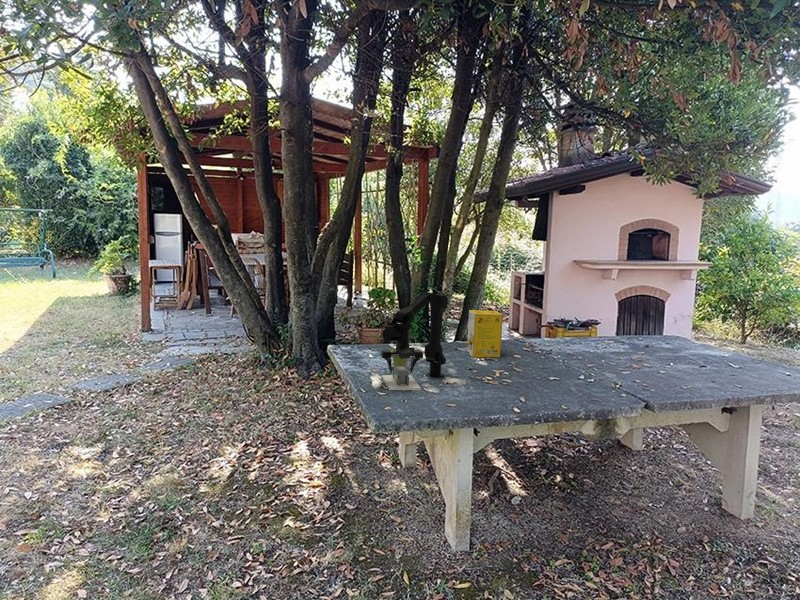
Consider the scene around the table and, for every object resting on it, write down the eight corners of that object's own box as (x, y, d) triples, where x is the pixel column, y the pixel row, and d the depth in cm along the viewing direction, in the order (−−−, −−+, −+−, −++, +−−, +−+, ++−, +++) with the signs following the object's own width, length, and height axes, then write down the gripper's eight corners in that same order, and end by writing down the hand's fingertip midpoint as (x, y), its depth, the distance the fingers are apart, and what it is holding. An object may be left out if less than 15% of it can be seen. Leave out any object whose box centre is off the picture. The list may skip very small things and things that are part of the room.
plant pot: (386, 367, 271) (387, 350, 270) (401, 365, 277) (402, 348, 275) (397, 371, 263) (398, 354, 262) (412, 369, 269) (413, 352, 268)
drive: (393, 378, 245) (394, 365, 245) (404, 378, 246) (404, 365, 246) (397, 384, 237) (397, 370, 236) (408, 384, 238) (408, 370, 237)
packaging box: (466, 351, 319) (469, 309, 316) (493, 351, 320) (496, 310, 317) (471, 357, 303) (474, 313, 300) (500, 358, 304) (502, 315, 301)
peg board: (381, 377, 251) (382, 367, 251) (410, 376, 254) (410, 367, 253) (389, 390, 230) (390, 380, 229) (421, 390, 232) (421, 380, 232)
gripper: (385, 342, 230) (383, 377, 231) (426, 342, 233) (425, 377, 235) (381, 337, 240) (379, 371, 242) (421, 337, 244) (419, 370, 246)
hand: (401, 372), depth 241 cm, fingers open, 9 cm apart
